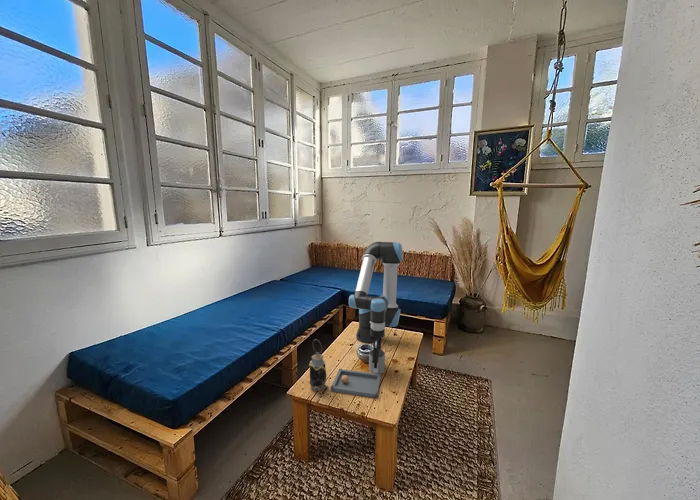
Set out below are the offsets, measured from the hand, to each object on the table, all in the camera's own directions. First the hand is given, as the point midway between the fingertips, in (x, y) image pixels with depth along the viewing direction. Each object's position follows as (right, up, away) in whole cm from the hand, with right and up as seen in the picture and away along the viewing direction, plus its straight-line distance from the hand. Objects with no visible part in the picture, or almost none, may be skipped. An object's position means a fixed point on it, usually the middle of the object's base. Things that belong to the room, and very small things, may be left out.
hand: (376, 367), depth 154 cm
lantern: (-30, -4, -14) cm, 33 cm away
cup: (0, -2, 0) cm, 2 cm away
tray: (-11, -4, -12) cm, 17 cm away
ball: (-17, -3, -11) cm, 21 cm away
